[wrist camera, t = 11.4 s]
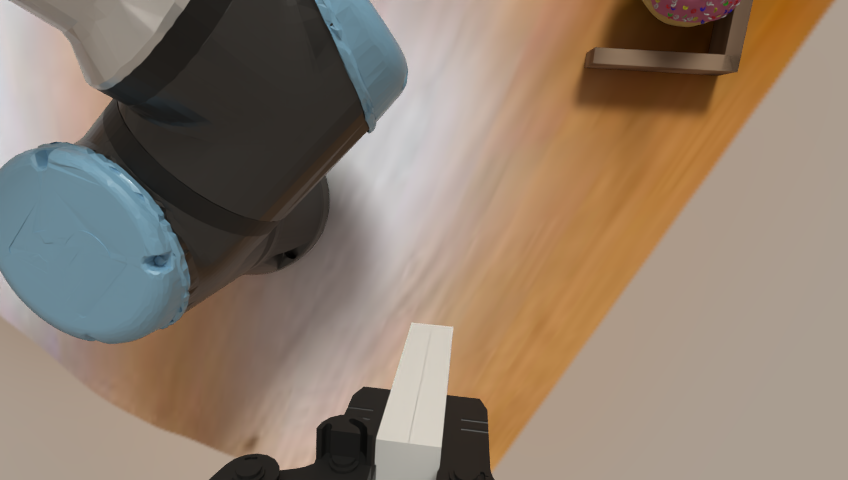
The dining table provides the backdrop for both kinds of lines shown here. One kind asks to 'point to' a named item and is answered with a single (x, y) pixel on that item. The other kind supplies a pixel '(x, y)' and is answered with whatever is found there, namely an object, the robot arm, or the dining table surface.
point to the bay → (716, 62)
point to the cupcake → (690, 10)
